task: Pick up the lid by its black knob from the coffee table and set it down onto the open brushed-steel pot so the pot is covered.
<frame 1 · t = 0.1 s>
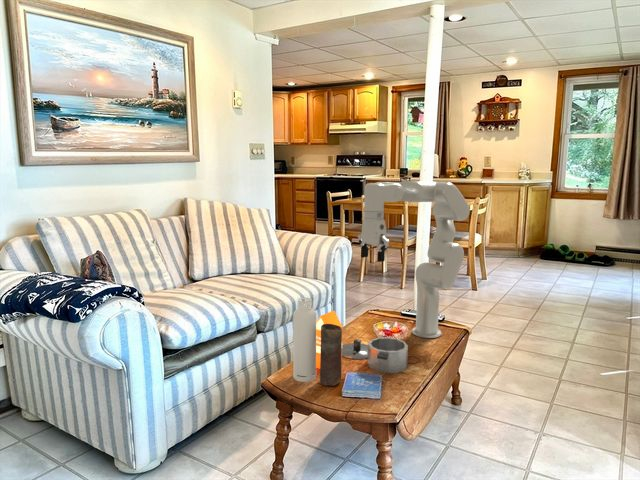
hand: (372, 259, 185), 37 cm above the table, tool pointing down, fingers open, 9 cm apart
orange juice: (326, 365, 176), on the table
candle: (330, 382, 162), on the table
bottle: (304, 377, 167), on the table
pot: (387, 364, 177), on the table
lid: (356, 352, 189), on the table
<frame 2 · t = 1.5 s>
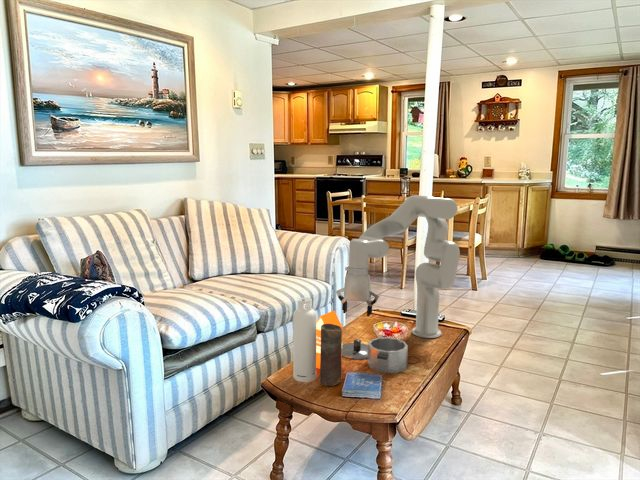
hand: (356, 313, 186), 16 cm above the table, tool pointing down, fingers open, 9 cm apart
nothing on the table moved.
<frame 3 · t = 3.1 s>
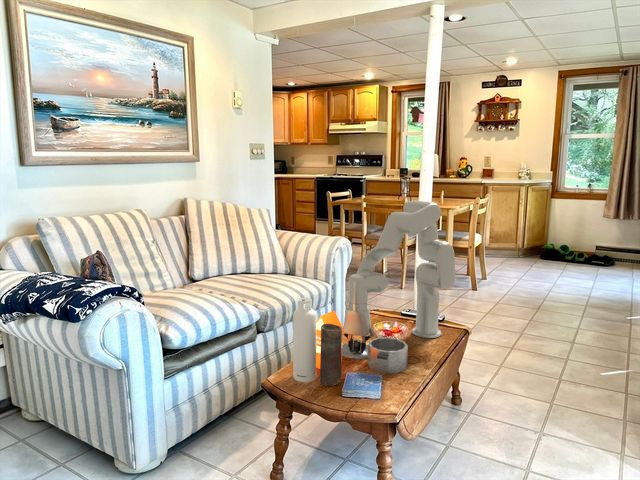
hand: (357, 349, 189), 1 cm above the table, tool pointing down, fingers open, 4 cm apart
lid: (356, 352, 189), on the table, touching gripper
everything else where it was.
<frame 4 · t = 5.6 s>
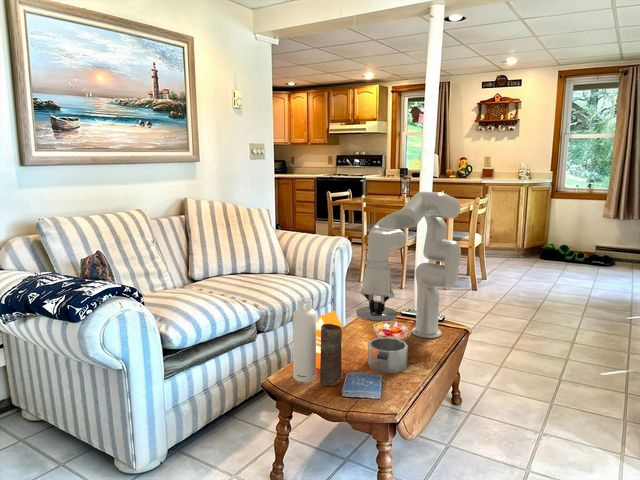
hand: (376, 311, 178), 19 cm above the table, tool pointing down, fingers closed on lid, 2 cm apart
lid: (376, 314, 178), point 18 cm above the table, touching gripper
everything else where it was.
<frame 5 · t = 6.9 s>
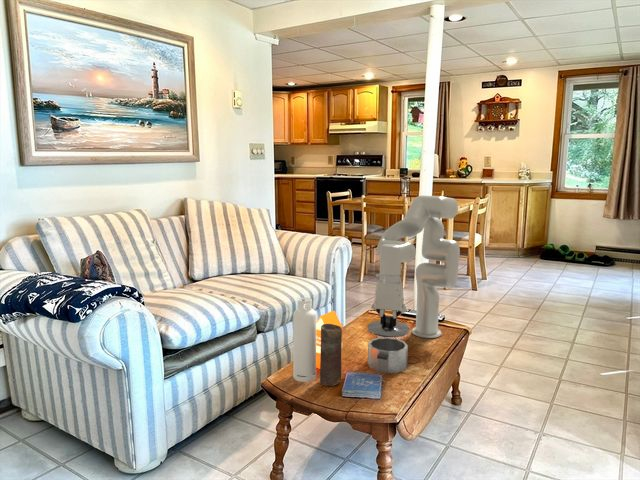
hand: (388, 326, 174), 15 cm above the table, tool pointing down, fingers closed on lid, 2 cm apart
lid: (388, 329, 174), point 14 cm above the table, touching gripper
everything else where it was.
when the fingers open (10 cm above the table, at t = 7.9 s): lid stays where it is, resting on pot.
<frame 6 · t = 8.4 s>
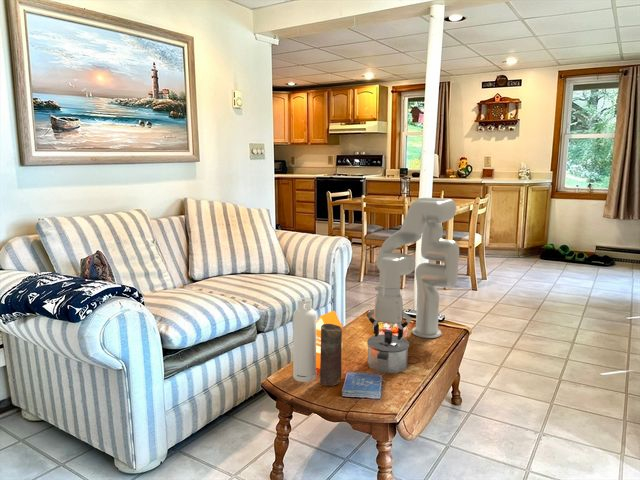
hand: (388, 336, 175), 11 cm above the table, tool pointing down, fingers open, 8 cm apart
lid: (388, 344, 175), point 8 cm above the table, touching pot
everything else where it was.
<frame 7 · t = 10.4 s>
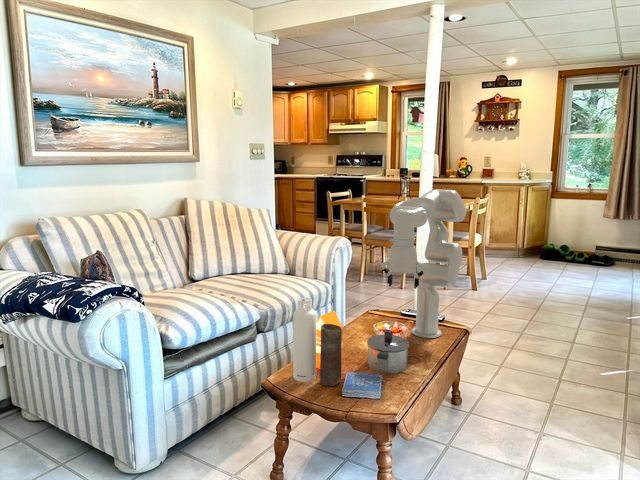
hand: (403, 286, 181), 28 cm above the table, tool pointing down, fingers open, 9 cm apart
nothing on the table moved.
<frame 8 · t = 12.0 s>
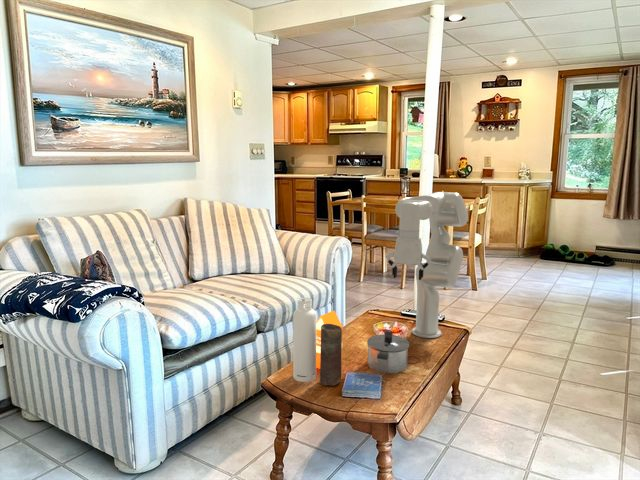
hand: (407, 278, 183), 30 cm above the table, tool pointing down, fingers open, 9 cm apart
nothing on the table moved.
at the end: lid 0.1 cm off-centre on the pot, point 8.0 cm above the pot's base; lid tilted 0°; the gripper is holding nothing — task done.
